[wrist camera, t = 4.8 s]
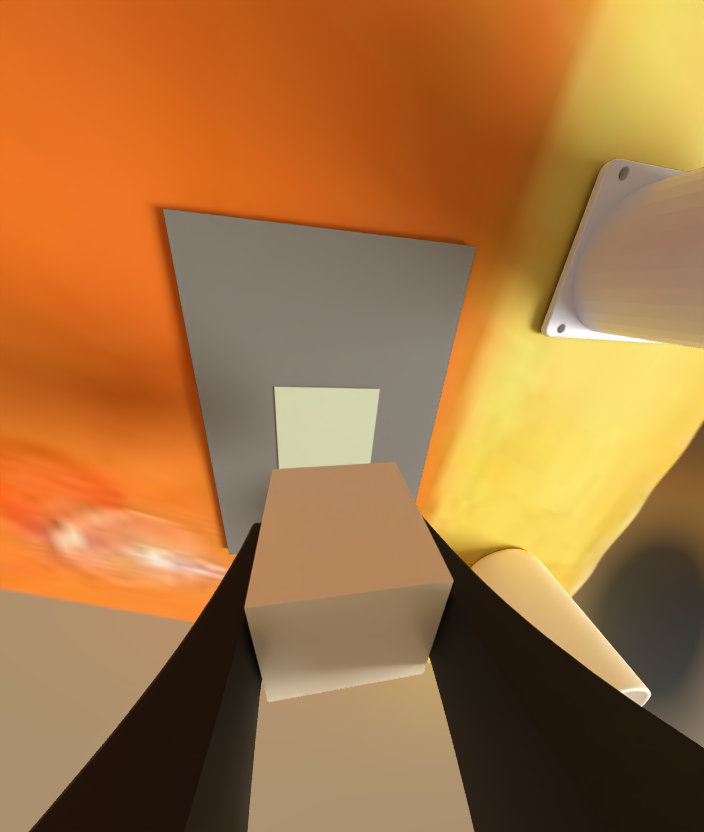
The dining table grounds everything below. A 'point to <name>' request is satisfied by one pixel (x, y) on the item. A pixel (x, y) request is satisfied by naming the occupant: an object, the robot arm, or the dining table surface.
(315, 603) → the cream block
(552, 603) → the mug
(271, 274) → the mat
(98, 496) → the dining table surface
